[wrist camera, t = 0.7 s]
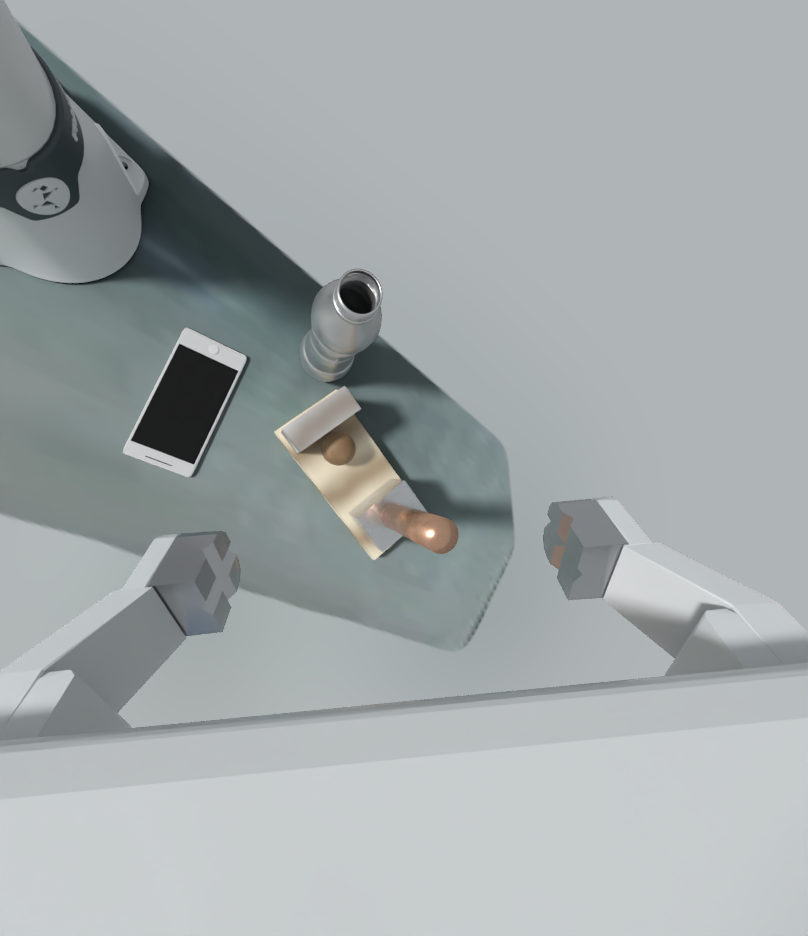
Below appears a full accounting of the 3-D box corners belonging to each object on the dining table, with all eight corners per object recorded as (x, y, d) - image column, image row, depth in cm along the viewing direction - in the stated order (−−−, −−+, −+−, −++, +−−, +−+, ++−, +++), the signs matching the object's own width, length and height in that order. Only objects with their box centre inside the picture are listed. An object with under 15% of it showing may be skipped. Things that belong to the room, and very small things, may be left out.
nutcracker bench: (274, 432, 47) (275, 426, 39) (333, 392, 49) (345, 379, 42) (370, 557, 51) (387, 573, 43) (420, 514, 53) (446, 522, 46)
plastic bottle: (286, 365, 47) (300, 299, 28) (316, 321, 48) (347, 230, 30) (332, 395, 49) (372, 353, 30) (359, 352, 50) (414, 285, 31)
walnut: (312, 445, 46) (316, 443, 42) (338, 426, 47) (345, 423, 44) (332, 472, 47) (338, 472, 43) (357, 452, 48) (365, 451, 44)
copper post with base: (348, 513, 48) (392, 540, 31) (391, 478, 49) (456, 486, 33) (371, 543, 49) (427, 586, 32) (413, 509, 51) (487, 531, 34)
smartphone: (248, 358, 46) (248, 356, 45) (191, 478, 44) (190, 478, 43) (186, 328, 44) (184, 326, 43) (123, 453, 42) (120, 452, 41)
